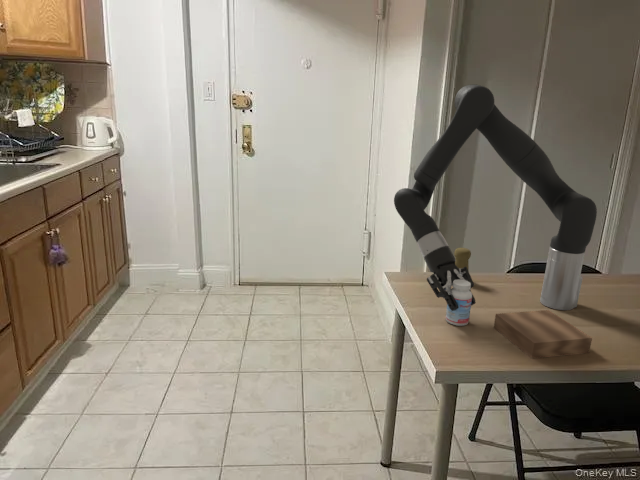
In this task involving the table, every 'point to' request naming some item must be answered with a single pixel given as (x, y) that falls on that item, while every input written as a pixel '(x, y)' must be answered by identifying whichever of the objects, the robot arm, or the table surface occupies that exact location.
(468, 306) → the pill bottle
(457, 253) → the cork
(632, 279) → the table surface
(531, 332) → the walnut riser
